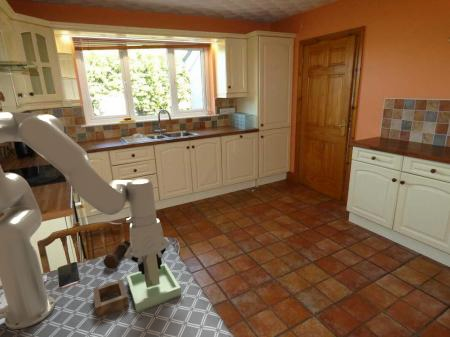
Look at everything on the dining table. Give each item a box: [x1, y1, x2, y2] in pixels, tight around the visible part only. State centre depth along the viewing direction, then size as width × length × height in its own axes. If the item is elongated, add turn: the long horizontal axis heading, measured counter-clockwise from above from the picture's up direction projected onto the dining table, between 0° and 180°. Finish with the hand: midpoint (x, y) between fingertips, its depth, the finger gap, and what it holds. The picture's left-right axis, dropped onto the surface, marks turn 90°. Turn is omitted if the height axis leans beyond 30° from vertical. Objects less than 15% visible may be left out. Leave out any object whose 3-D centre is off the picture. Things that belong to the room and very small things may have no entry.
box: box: [142, 251, 160, 288], centre depth 90 cm, size 5×4×13 cm
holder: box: [93, 278, 130, 319], centre depth 87 cm, size 9×10×4 cm
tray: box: [125, 262, 182, 313], centre depth 92 cm, size 14×16×3 cm
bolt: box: [102, 240, 130, 269], centre depth 112 cm, size 6×5×15 cm
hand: (150, 269), depth 91 cm, fingers closed on box, 4 cm apart
